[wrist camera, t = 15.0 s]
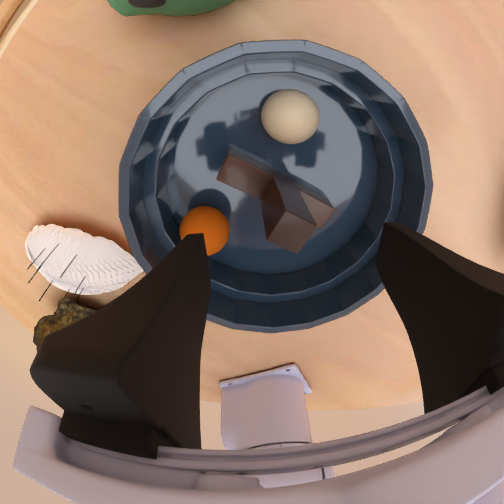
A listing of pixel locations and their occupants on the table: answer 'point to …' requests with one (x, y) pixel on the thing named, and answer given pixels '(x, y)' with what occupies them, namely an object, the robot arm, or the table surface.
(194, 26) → the table surface
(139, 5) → the alien toy
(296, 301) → the bowl
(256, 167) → the brown t-shaped block
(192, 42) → the table surface
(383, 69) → the table surface
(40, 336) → the rock
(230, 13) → the table surface
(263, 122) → the bead
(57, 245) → the pincushion
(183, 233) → the bead
